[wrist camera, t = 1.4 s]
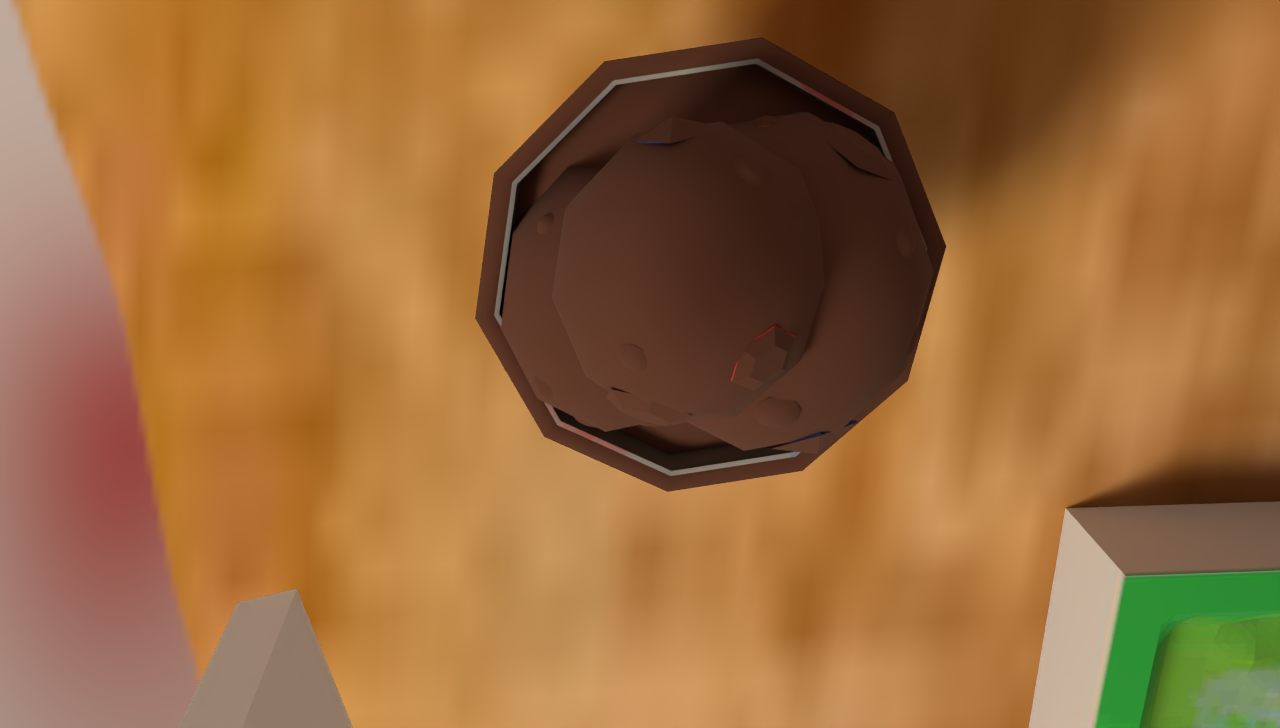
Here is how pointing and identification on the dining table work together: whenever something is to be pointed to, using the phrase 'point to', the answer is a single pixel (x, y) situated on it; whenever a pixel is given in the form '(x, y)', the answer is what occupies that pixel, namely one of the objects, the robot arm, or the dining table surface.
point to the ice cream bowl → (708, 264)
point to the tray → (1163, 619)
